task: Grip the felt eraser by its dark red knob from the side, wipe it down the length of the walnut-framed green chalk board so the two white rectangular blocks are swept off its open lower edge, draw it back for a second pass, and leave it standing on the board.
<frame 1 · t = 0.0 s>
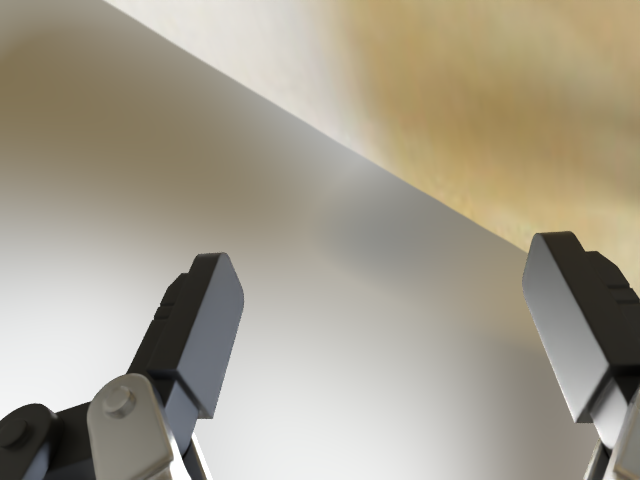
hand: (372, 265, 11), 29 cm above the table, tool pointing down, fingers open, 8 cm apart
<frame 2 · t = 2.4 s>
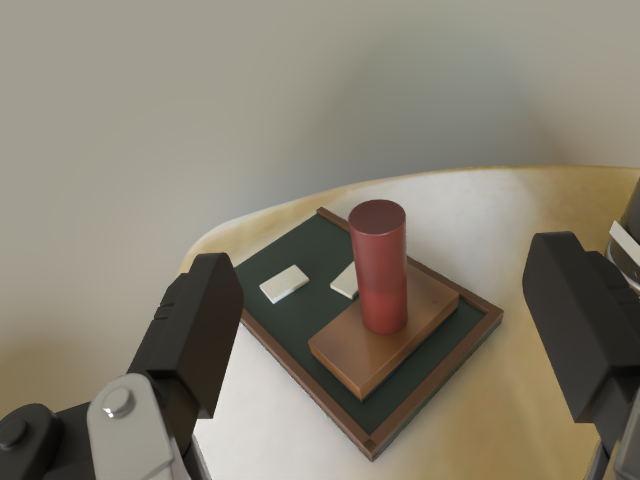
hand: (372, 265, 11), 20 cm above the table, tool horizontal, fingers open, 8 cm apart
board: (340, 304, 36), on the table
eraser: (386, 333, 31), point 1 cm above the table, touching board
white rectangular block 2: (284, 285, 37), point 1 cm above the table, touching board
white rectangular block 1: (354, 279, 36), point 1 cm above the table, touching board
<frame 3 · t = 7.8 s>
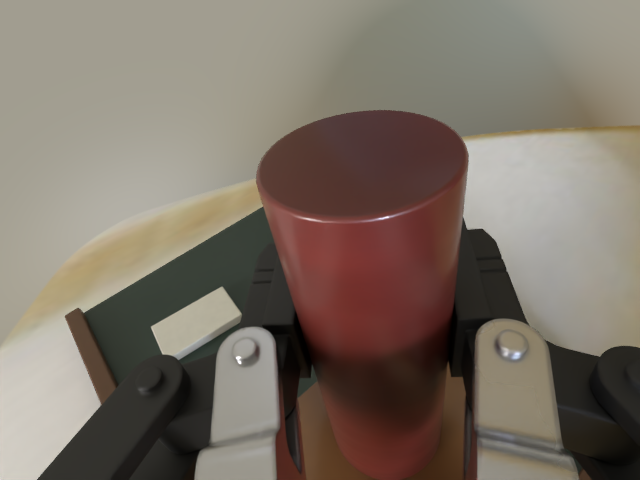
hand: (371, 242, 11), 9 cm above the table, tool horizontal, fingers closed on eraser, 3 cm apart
board: (300, 368, 18), on the table
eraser: (388, 449, 14), point 1 cm above the table, touching board, gripper
white rectangular block 2: (199, 326, 20), point 1 cm above the table, touching board
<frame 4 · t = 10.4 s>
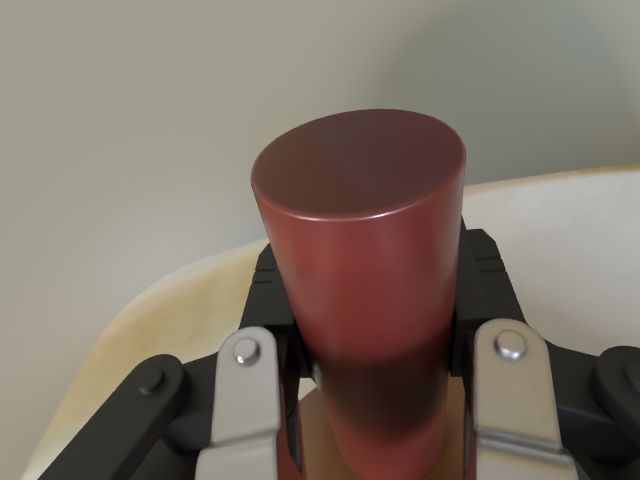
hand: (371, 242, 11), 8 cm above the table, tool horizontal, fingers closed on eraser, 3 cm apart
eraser: (391, 456, 14), point 1 cm above the table, touching gripper
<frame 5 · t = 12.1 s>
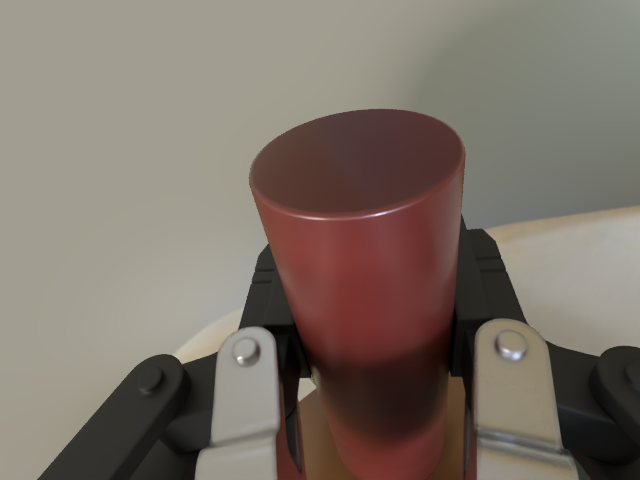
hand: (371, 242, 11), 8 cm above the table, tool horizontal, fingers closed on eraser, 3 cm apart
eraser: (391, 459, 14), point 1 cm above the table, touching board, white rectangular block 1, gripper
when the fingers open (8 cm above the table, at t = 14.6 s): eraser stays where it is, resting on board.
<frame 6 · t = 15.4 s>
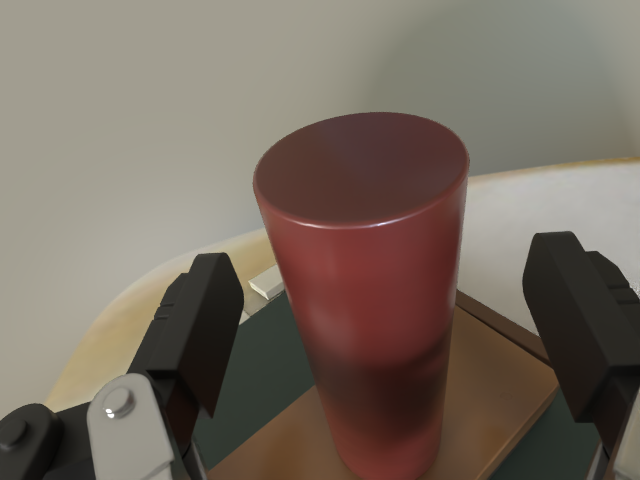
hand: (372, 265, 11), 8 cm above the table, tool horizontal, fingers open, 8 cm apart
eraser: (388, 454, 14), point 1 cm above the table, touching board
white rectangular block 1: (289, 274, 22), on the table, tilted 21°, touching board
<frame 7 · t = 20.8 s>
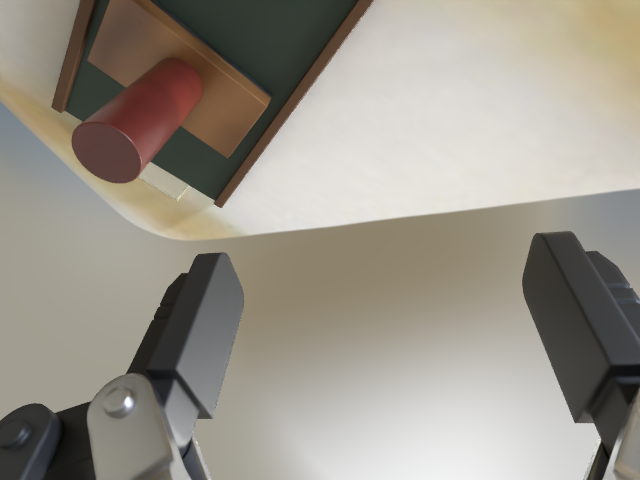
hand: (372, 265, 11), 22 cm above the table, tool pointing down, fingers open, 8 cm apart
board: (203, 46, 28), on the table
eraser: (189, 73, 28), point 1 cm above the table, touching board
white rectangular block 2: (164, 177, 36), on the table
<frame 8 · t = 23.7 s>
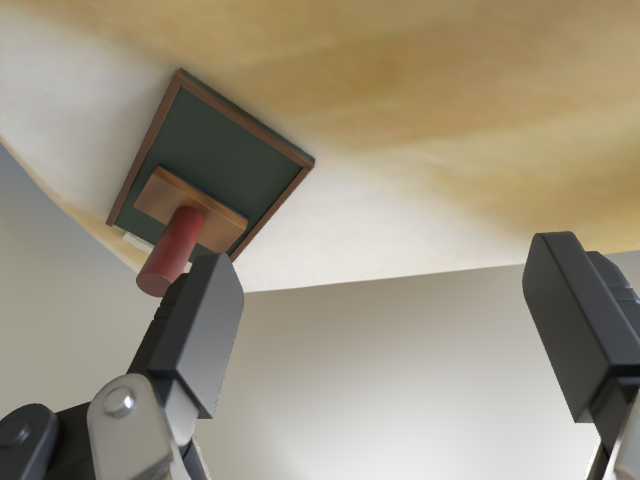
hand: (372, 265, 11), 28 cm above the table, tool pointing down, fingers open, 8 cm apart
board: (204, 190, 44), on the table
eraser: (195, 206, 45), point 1 cm above the table, touching board
white rectangular block 2: (178, 258, 52), on the table
white rectangular block 1: (140, 241, 50), on the table, tilted 21°, touching board
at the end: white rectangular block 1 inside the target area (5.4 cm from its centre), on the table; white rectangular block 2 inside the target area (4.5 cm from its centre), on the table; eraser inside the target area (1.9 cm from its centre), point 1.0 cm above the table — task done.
